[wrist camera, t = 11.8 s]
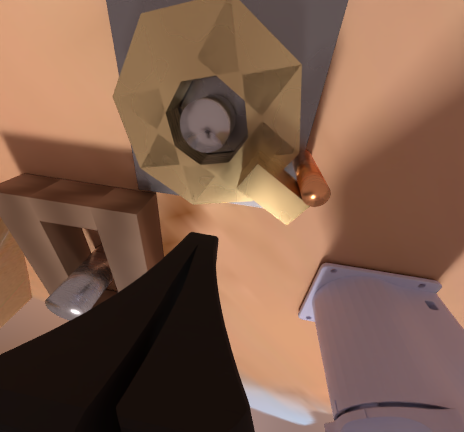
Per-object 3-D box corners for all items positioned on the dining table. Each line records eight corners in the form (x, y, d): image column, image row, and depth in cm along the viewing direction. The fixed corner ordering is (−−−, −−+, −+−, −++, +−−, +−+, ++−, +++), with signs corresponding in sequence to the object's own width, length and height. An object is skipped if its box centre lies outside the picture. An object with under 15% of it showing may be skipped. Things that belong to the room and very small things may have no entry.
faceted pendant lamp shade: (186, -47, 9) (137, -120, 6) (352, 122, 11) (387, 142, 8) (116, 132, 13) (67, 151, 10) (246, 224, 16) (240, 263, 13)
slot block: (155, 193, 17) (136, 214, 14) (170, 311, 26) (160, 336, 23) (24, 173, 17) (-17, 190, 15) (83, 295, 26) (64, 318, 24)
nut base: (360, -2, 9) (433, -60, 5) (295, 208, 16) (305, 257, 11) (109, -24, 10) (0, -91, 6) (142, 185, 16) (100, 223, 12)
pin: (122, 246, 20) (76, 301, 15) (129, 267, 22) (89, 323, 17) (93, 242, 21) (38, 295, 16) (101, 263, 22) (54, 317, 17)
